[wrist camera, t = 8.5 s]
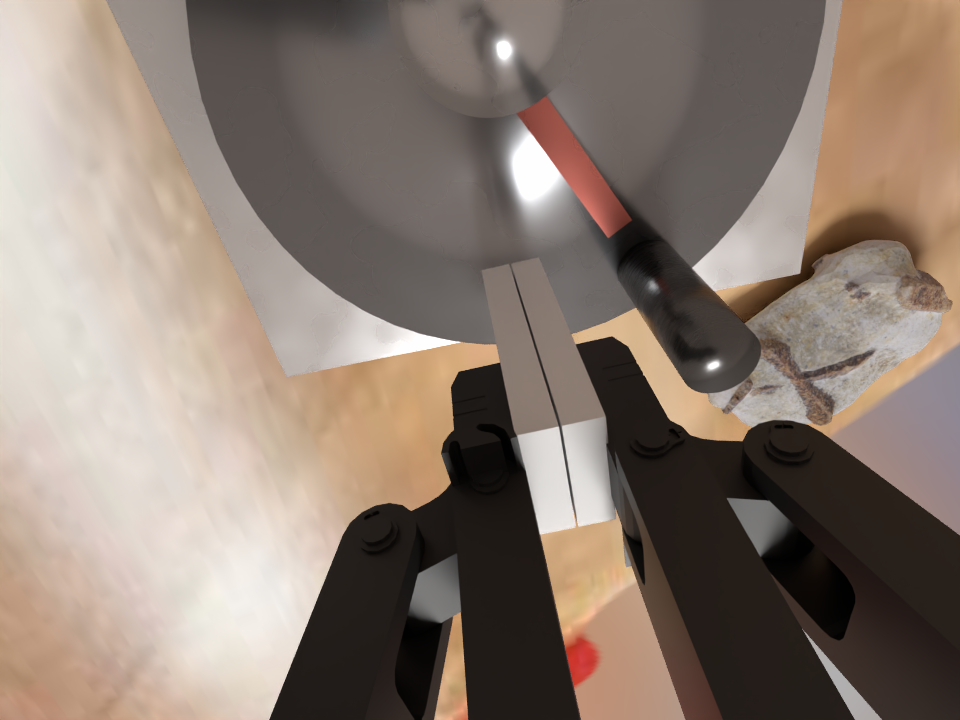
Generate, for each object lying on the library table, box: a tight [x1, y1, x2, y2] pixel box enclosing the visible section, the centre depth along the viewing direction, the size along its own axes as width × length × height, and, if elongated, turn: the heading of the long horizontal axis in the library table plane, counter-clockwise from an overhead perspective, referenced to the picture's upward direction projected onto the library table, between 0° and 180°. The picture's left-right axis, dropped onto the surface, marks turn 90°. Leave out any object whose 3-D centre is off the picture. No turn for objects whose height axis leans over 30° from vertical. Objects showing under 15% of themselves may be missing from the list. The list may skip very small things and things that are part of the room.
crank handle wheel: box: [186, 0, 826, 393], centre depth 13 cm, size 15×15×8 cm
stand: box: [106, 0, 843, 377], centre depth 16 cm, size 20×20×4 cm
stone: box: [708, 240, 952, 428], centre depth 24 cm, size 10×7×3 cm
